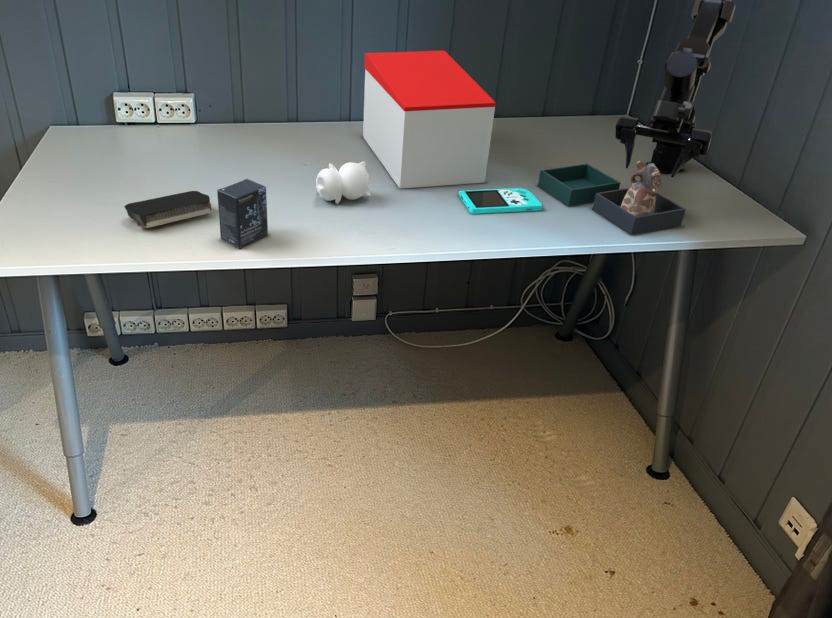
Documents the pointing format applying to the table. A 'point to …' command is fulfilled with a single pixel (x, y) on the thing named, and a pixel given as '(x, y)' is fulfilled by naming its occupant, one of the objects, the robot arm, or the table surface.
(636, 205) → the ceramic spout vessel
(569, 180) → the teal tote
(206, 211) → the black sponge
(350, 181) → the cat figurine
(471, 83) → the storage cube
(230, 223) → the box
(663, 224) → the grey tote
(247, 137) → the table surface
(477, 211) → the handheld game console
